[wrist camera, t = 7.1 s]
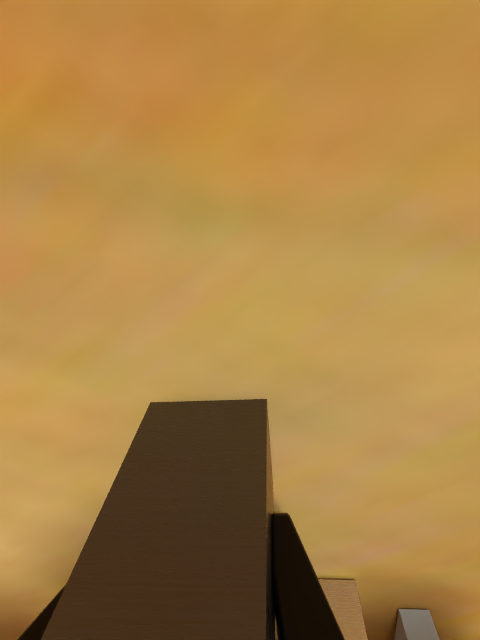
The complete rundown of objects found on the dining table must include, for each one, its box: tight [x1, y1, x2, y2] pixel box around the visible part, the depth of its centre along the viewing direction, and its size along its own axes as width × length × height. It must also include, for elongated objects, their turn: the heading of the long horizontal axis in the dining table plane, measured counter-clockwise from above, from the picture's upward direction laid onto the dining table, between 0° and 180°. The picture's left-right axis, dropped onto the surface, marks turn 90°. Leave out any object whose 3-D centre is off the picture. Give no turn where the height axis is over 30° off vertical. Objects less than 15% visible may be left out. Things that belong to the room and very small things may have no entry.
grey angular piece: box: [41, 399, 368, 640], centre depth 8 cm, size 8×9×6 cm
